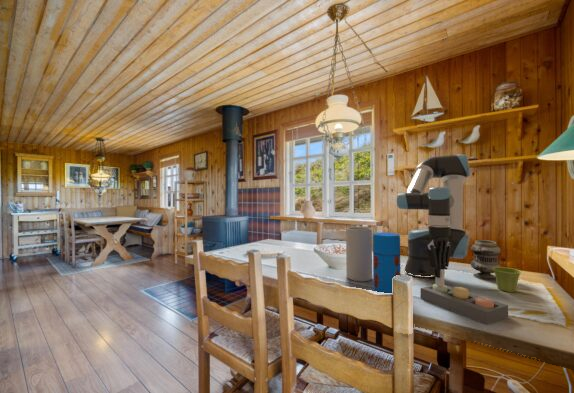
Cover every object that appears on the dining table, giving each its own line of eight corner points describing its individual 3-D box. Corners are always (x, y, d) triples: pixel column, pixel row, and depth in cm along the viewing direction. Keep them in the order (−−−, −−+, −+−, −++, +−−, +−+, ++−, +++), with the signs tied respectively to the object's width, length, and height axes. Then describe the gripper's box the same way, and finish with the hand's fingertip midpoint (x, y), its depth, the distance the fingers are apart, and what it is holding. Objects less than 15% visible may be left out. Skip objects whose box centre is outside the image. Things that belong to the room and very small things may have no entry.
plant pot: (527, 294, 106) (526, 273, 106) (500, 293, 108) (500, 272, 108) (512, 286, 115) (511, 267, 115) (488, 285, 117) (488, 266, 117)
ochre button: (449, 298, 97) (449, 288, 97) (457, 296, 99) (457, 286, 99) (463, 303, 92) (463, 292, 92) (471, 301, 94) (471, 290, 94)
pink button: (472, 310, 89) (472, 299, 89) (480, 307, 91) (480, 296, 91) (488, 316, 85) (488, 304, 85) (497, 313, 87) (497, 301, 87)
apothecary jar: (480, 280, 124) (479, 243, 124) (465, 273, 136) (465, 239, 136) (507, 281, 122) (507, 243, 122) (490, 273, 134) (490, 239, 134)
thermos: (368, 290, 113) (367, 233, 113) (387, 286, 117) (386, 231, 117) (386, 299, 103) (385, 236, 103) (406, 295, 107) (405, 235, 107)
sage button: (429, 294, 104) (429, 284, 104) (438, 292, 106) (438, 282, 106) (441, 299, 99) (441, 288, 99) (450, 296, 101) (450, 286, 101)
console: (420, 297, 104) (420, 288, 104) (440, 293, 109) (440, 283, 109) (487, 324, 82) (487, 312, 82) (508, 317, 87) (508, 305, 87)
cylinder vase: (361, 273, 138) (361, 226, 138) (377, 280, 126) (377, 229, 126) (341, 275, 134) (341, 227, 134) (356, 283, 122) (355, 230, 122)
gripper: (437, 228, 96) (437, 291, 96) (459, 226, 102) (459, 285, 102) (419, 226, 103) (420, 284, 103) (441, 224, 109) (441, 280, 109)
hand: (439, 285), depth 103 cm, fingers closed
